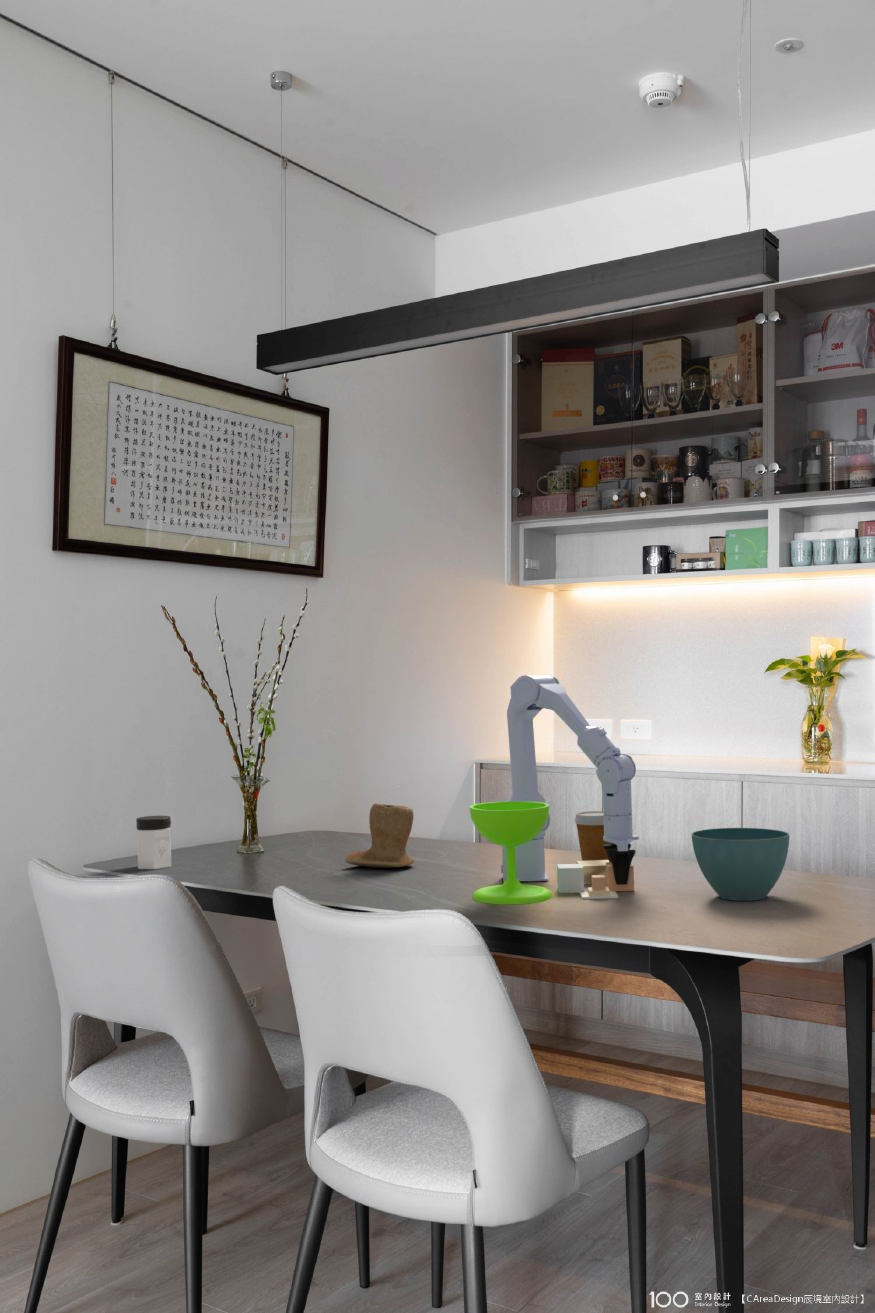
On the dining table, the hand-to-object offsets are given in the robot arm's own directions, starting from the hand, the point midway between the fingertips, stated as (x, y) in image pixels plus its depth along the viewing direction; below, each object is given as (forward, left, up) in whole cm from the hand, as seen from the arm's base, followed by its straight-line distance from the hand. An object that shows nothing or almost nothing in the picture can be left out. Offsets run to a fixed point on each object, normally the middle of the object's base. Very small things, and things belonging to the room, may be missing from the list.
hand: (620, 881), depth 232 cm
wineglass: (-22, -5, -2) cm, 23 cm away
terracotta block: (0, 0, -1) cm, 1 cm away
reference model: (-5, -7, -1) cm, 9 cm away
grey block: (-10, 0, -2) cm, 10 cm away
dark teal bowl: (+22, -11, -2) cm, 25 cm away
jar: (-108, +43, -2) cm, 116 cm away
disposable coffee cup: (-2, +28, -2) cm, 28 cm away
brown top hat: (-51, +35, -2) cm, 62 cm away
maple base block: (-4, +10, -2) cm, 11 cm away
